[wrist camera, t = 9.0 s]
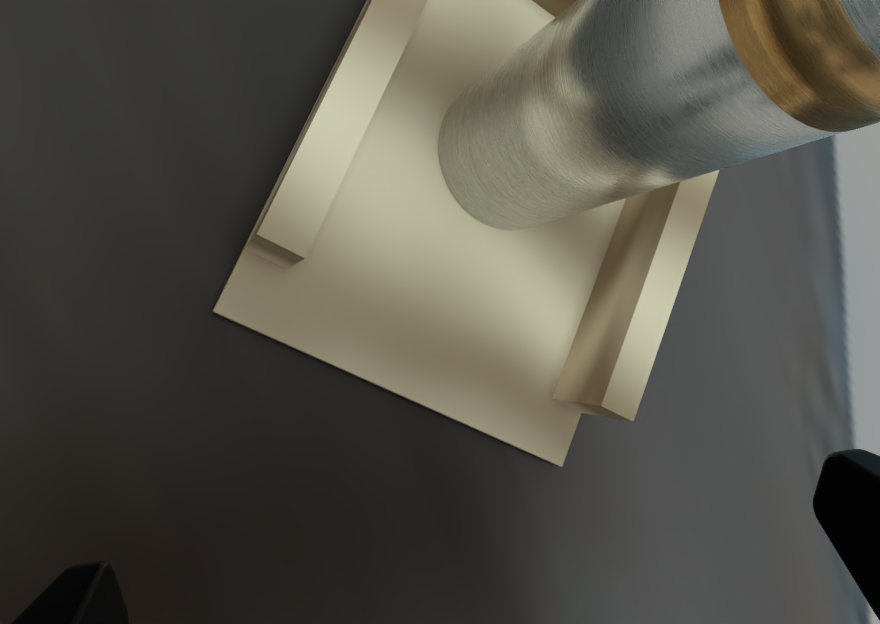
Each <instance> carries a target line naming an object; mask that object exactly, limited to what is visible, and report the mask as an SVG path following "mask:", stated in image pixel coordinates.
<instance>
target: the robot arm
mask: <svg viewBox="0 0 880 624" xmlns="http://www.w3.org/2000/svg"><path fill="white" fill-rule="evenodd" d="M813 508H814V512H815V515H816V518H817V519H818V521H819V523H820V525H821V526H822V528H823V529H824V531H825V533H826V534H827V536H828V538H829V539H830V541H831V542H832V544H833V546H834V547H835V549H836V551H837V552H838V554H839V556H840V557H841V559H842V560H843V562H844V564H845V565H846V567H847V569H848V570H849V572H850V573H851V575H852V577H853V578H854V580H855V582H856V583H857V585H858V587H859V588H860V590H861V591H862V593H863V595H864V596H865V598H866V600H867V601H868V603H869V604H870V606H871V608H872V609H873V611H874V612H875V614H876V615H877V617H878V619H879V620H880V456H878V455H875V454H873V453H871V452H868V451H865V450H861V449H852V450H845V451H839V452H833V453H831V454H829V455H828V456H827V457H826V459H825V461H824V463H823V467H822V470H821V473H820V477H819V480H818V484H817V487H816V490H815V494H814V497H813ZM11 624H129V621H128V612H127V608H126V605H125V602H124V599H123V597H122V594H121V591H120V588H119V585H118V582H117V579H116V576H115V573H114V570H113V568H112V566H111V565H110V564H109V563H107V562H103V561H101V562H94V563H88V564H81V565H74V566H71V567H69V568H67V569H66V570H64V571H63V572H62V573H61V574H60V575H59V576H58V577H57V578H56V579H55V580H54V581H53V582H52V583H51V584H50V585H49V586H48V587H47V588H46V589H45V590H44V591H43V592H42V593H41V594H40V595H39V596H38V597H37V598H36V599H35V600H34V601H33V602H32V603H31V604H30V605H29V606H28V607H27V608H26V609H25V610H24V611H23V612H22V613H21V614H20V615H19V616H18V617H17V618H16V619H15V620H14V621H13V622H12V623H11Z"/></svg>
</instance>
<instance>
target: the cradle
mask: <svg viewBox="0 0 880 624" xmlns="http://www.w3.org/2000/svg"><path fill="white" fill-rule="evenodd" d="M575 1H576V0H366V2H365V4H364V6H363V8H362V10H361V12H360V14H359V16H358V18H357V20H356V22H355V24H354V26H353V28H352V30H351V32H350V34H349V36H348V38H347V40H346V42H345V44H344V46H343V48H342V50H341V52H340V54H339V56H338V59H337V61H336V63H335V65H334V67H333V69H332V71H331V73H330V75H329V77H328V79H327V81H326V83H325V85H324V87H323V89H322V91H321V93H320V95H319V97H318V99H317V101H316V103H315V105H314V107H313V109H312V111H311V113H310V115H309V117H308V119H307V121H306V123H305V125H304V127H303V129H302V131H301V133H300V135H299V137H298V139H297V141H296V143H295V145H294V147H293V149H292V151H291V153H290V155H289V157H288V159H287V161H286V163H285V165H284V167H283V169H282V171H281V173H280V176H279V178H278V180H277V182H276V184H275V186H274V188H273V190H272V192H271V194H270V196H269V198H268V200H267V202H266V204H265V206H264V208H263V210H262V212H261V214H260V216H259V218H258V220H257V222H256V224H255V226H254V228H253V230H252V232H251V234H250V236H249V238H248V240H247V242H246V244H245V246H244V248H243V250H242V252H241V254H240V256H239V258H238V260H237V262H236V264H235V266H234V268H233V270H232V272H231V274H230V276H229V278H228V280H227V282H226V284H225V286H224V288H223V290H222V293H221V295H220V297H219V299H218V301H217V303H216V305H215V307H214V309H213V311H212V312H213V313H215V314H217V315H220V316H222V317H224V318H226V319H229V320H231V321H233V322H235V323H238V324H240V325H242V326H244V327H247V328H249V329H251V330H253V331H256V332H258V333H260V334H262V335H265V336H267V337H269V338H271V339H274V340H276V341H278V342H280V343H282V344H285V345H287V346H289V347H291V348H294V349H296V350H298V351H300V352H303V353H305V354H307V355H309V356H312V357H314V358H316V359H318V360H321V361H323V362H325V363H327V364H330V365H332V366H334V367H336V368H339V369H341V370H343V371H345V372H348V373H350V374H352V375H354V376H357V377H359V378H361V379H363V380H366V381H368V382H370V383H372V384H375V385H377V386H379V387H381V388H384V389H386V390H388V391H390V392H393V393H395V394H397V395H399V396H402V397H404V398H406V399H408V400H411V401H413V402H415V403H417V404H420V405H422V406H424V407H426V408H429V409H431V410H433V411H435V412H437V413H440V414H442V415H444V416H446V417H449V418H451V419H453V420H455V421H458V422H460V423H462V424H464V425H467V426H469V427H471V428H473V429H476V430H478V431H480V432H482V433H485V434H487V435H489V436H491V437H494V438H496V439H498V440H500V441H503V442H505V443H507V444H509V445H512V446H514V447H516V448H518V449H521V450H523V451H525V452H527V453H530V454H532V455H534V456H536V457H539V458H541V459H543V460H545V461H548V462H550V463H552V464H555V465H558V466H561V467H562V466H563V463H564V460H565V458H566V455H567V452H568V449H569V446H570V444H571V441H572V438H573V435H574V433H575V430H576V427H577V424H578V421H579V419H580V416H581V413H584V414H590V415H596V416H602V417H608V418H613V419H619V420H625V421H631V422H633V421H634V418H635V416H636V413H637V410H638V407H639V404H640V401H641V398H642V395H643V392H644V389H645V386H646V383H647V380H648V377H649V375H650V372H651V369H652V366H653V363H654V360H655V357H656V354H657V351H658V348H659V345H660V342H661V339H662V336H663V334H664V331H665V328H666V325H667V322H668V319H669V316H670V313H671V310H672V307H673V304H674V301H675V298H676V295H677V293H678V290H679V287H680V284H681V281H682V278H683V275H684V272H685V269H686V266H687V263H688V260H689V257H690V254H691V252H692V249H693V246H694V243H695V240H696V237H697V234H698V231H699V228H700V225H701V222H702V219H703V216H704V213H705V211H706V208H707V205H708V202H709V199H710V196H711V193H712V190H713V187H714V184H715V181H716V178H717V175H718V172H719V170H717V171H713V172H710V173H707V174H704V175H700V176H697V177H694V178H691V179H687V180H684V181H681V182H677V183H674V184H671V185H668V186H664V187H661V188H658V189H655V190H651V191H648V192H645V193H641V194H638V195H635V196H632V197H628V198H625V199H622V200H618V201H615V202H612V203H609V204H605V205H602V206H599V207H596V208H592V209H589V210H586V211H582V212H579V213H576V214H573V215H569V216H566V217H563V218H560V219H556V220H553V221H550V222H546V223H543V224H540V225H537V226H533V227H530V228H526V229H522V230H502V229H497V228H493V227H491V226H488V225H486V224H484V223H482V222H480V221H478V220H477V219H475V218H474V217H472V216H471V215H470V214H469V213H468V212H466V211H465V210H464V209H463V208H462V207H461V205H460V204H459V203H458V202H457V201H456V199H455V198H454V196H453V195H452V193H451V192H450V190H449V188H448V186H447V184H446V182H445V179H444V177H443V174H442V170H441V166H440V161H439V151H438V143H439V134H440V129H441V125H442V122H443V120H444V117H445V115H446V113H447V111H448V109H449V108H450V106H451V105H452V104H453V102H454V101H455V100H456V99H457V98H458V97H459V96H460V95H461V94H462V93H463V92H465V91H466V90H467V89H468V88H469V87H471V86H472V85H473V84H474V83H476V82H477V81H478V80H479V79H481V78H482V77H483V76H484V75H485V74H487V73H488V72H489V71H490V70H492V69H493V68H494V67H495V66H497V65H498V64H499V63H500V62H501V61H503V60H504V59H505V58H506V57H508V56H509V55H510V54H511V53H513V52H514V51H515V50H516V49H517V48H519V47H520V46H521V45H522V44H524V43H525V42H526V41H527V40H528V39H530V38H531V37H532V36H533V35H535V34H536V33H537V32H538V31H540V30H541V29H542V28H543V27H544V26H546V25H547V24H548V23H549V22H551V21H552V20H553V19H554V18H556V17H557V16H558V15H559V14H560V13H562V12H563V11H564V10H565V9H567V8H568V7H569V6H570V5H571V4H573V3H574V2H575Z"/></svg>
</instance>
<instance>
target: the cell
mask: <svg viewBox="0 0 880 624" xmlns="http://www.w3.org/2000/svg"><path fill="white" fill-rule="evenodd" d="M878 122H880V0H576V1H575V2H574V3H573V4H571V5H570V6H569V7H568V8H567V9H565V10H564V11H563V12H562V13H560V14H559V15H558V16H557V17H556V18H554V19H553V20H552V21H551V22H549V23H548V24H547V25H546V26H544V27H543V28H542V29H541V30H540V31H538V32H537V33H536V34H535V35H533V36H532V37H531V38H530V39H528V40H527V41H526V42H525V43H524V44H522V45H521V46H520V47H519V48H517V49H516V50H515V51H514V52H513V53H511V54H510V55H509V56H508V57H506V58H505V59H504V60H503V61H501V62H500V63H499V64H498V65H497V66H495V67H494V68H493V69H492V70H490V71H489V72H488V73H487V74H485V75H484V76H483V77H482V78H481V79H479V80H478V81H477V82H476V83H474V84H473V85H472V86H471V87H469V88H468V89H467V90H466V91H465V92H463V93H462V94H461V95H460V96H459V97H458V98H457V99H456V100H455V101H454V102H453V104H452V105H451V106H450V108H449V109H448V111H447V113H446V115H445V117H444V120H443V122H442V125H441V129H440V134H439V143H438V151H439V161H440V166H441V170H442V174H443V177H444V179H445V182H446V184H447V186H448V188H449V190H450V192H451V193H452V195H453V196H454V198H455V199H456V201H457V202H458V203H459V204H460V205H461V207H462V208H463V209H464V210H465V211H466V212H468V213H469V214H470V215H471V216H472V217H474V218H475V219H477V220H478V221H480V222H482V223H484V224H486V225H488V226H491V227H493V228H497V229H502V230H522V229H526V228H530V227H533V226H537V225H540V224H543V223H546V222H550V221H553V220H556V219H560V218H563V217H566V216H569V215H573V214H576V213H579V212H582V211H586V210H589V209H592V208H596V207H599V206H602V205H605V204H609V203H612V202H615V201H618V200H622V199H625V198H628V197H632V196H635V195H638V194H641V193H645V192H648V191H651V190H655V189H658V188H661V187H664V186H668V185H671V184H674V183H677V182H681V181H684V180H687V179H691V178H694V177H697V176H700V175H704V174H707V173H710V172H713V171H717V170H720V169H723V168H727V167H730V166H733V165H736V164H740V163H743V162H746V161H750V160H753V159H756V158H759V157H763V156H766V155H769V154H772V153H776V152H779V151H782V150H786V149H789V148H792V147H795V146H799V145H802V144H805V143H808V142H812V141H815V140H818V139H822V138H825V137H828V136H831V135H835V134H838V133H841V132H846V131H850V130H854V129H858V128H862V127H865V126H868V125H871V124H875V123H878Z"/></svg>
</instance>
